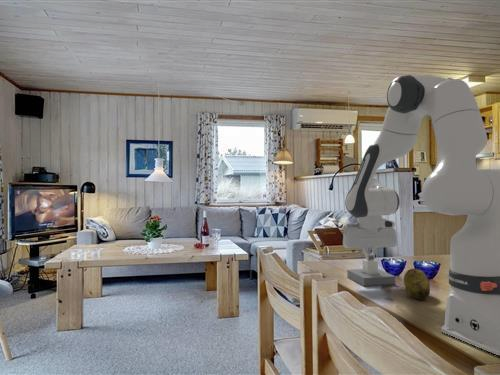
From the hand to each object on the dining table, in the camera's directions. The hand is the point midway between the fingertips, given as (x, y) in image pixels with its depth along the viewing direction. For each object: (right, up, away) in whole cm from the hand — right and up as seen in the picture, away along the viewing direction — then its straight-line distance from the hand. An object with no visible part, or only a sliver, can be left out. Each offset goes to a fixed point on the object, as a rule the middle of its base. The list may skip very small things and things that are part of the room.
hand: (370, 259), depth 140 cm
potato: (+9, -8, -20) cm, 23 cm away
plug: (0, -7, 0) cm, 7 cm away
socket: (0, -8, 0) cm, 8 cm away
